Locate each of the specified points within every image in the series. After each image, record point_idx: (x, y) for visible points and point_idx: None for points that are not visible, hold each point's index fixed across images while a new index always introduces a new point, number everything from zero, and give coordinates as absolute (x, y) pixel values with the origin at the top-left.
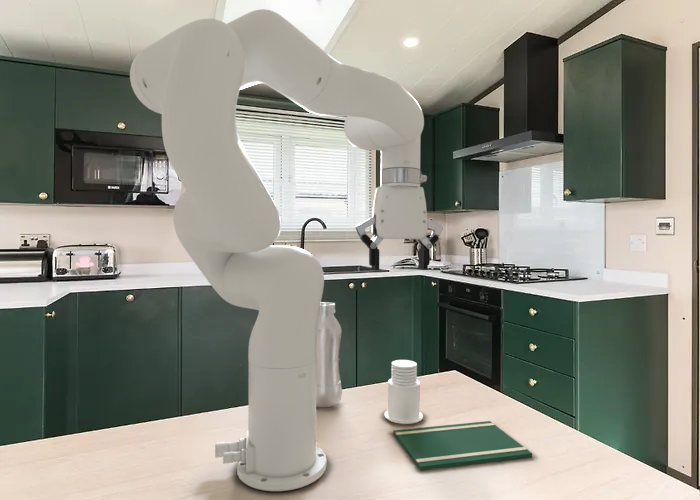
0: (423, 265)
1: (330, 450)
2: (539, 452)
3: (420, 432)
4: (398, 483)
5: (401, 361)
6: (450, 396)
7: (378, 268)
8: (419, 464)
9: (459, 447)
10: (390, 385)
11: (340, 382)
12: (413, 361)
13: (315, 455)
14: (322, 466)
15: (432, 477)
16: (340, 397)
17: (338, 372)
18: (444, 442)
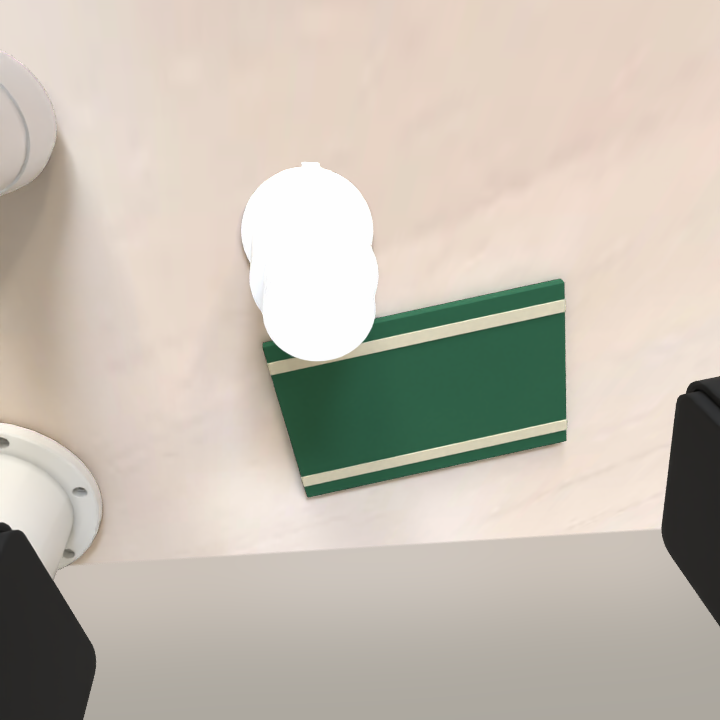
0: (687, 559)
1: (95, 427)
2: (592, 415)
3: (338, 360)
4: (257, 528)
5: (311, 287)
6: (543, 11)
7: (85, 670)
8: (306, 491)
9: (416, 425)
10: (257, 304)
11: (30, 139)
12: (367, 284)
13: (70, 518)
14: (95, 528)
15: (326, 508)
16: (53, 144)
17: (5, 165)
18: (387, 405)
